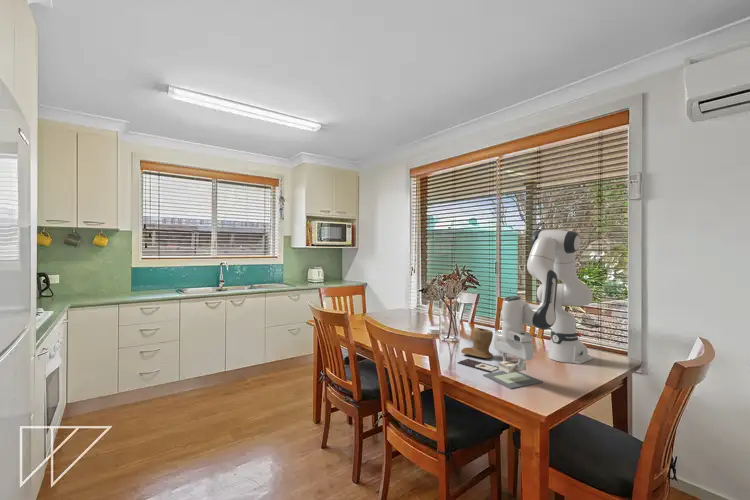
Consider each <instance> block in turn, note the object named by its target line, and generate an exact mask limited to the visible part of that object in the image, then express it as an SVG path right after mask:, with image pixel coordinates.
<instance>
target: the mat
mask: <svg viewBox="0 0 750 500" xmlns="http://www.w3.org/2000/svg"><path fill="white" fill-rule="evenodd" d="M482 376H483V377H486V378H487V379H489V380H491V381H493V382H495V383H498V384H499V385H501V386H504V387H506V388H507V389H510V390H514V389H519V388H522V387H528V386H533V385H537V384H542V383H543V382H544V381H543V380H541V379H539V378H536V377H533V376H531V375H529V374H527V373H523V372H522V371H518V372H513V373H507V372H504V371H502V370H500V371H493V372H490V373H489V372H487V373H484V374H482Z"/></svg>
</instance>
